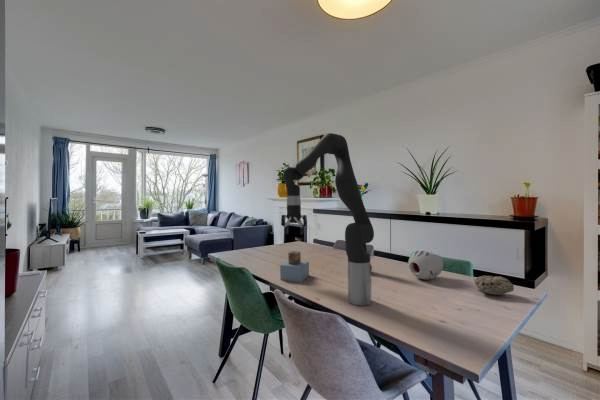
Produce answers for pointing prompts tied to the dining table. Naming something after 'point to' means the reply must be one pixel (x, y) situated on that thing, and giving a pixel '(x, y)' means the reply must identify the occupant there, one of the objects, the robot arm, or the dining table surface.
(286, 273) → the slate-blue plinth
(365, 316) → the dining table surface
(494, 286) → the pumice stone
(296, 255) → the walnut block
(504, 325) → the dining table surface
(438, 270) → the decorative object
